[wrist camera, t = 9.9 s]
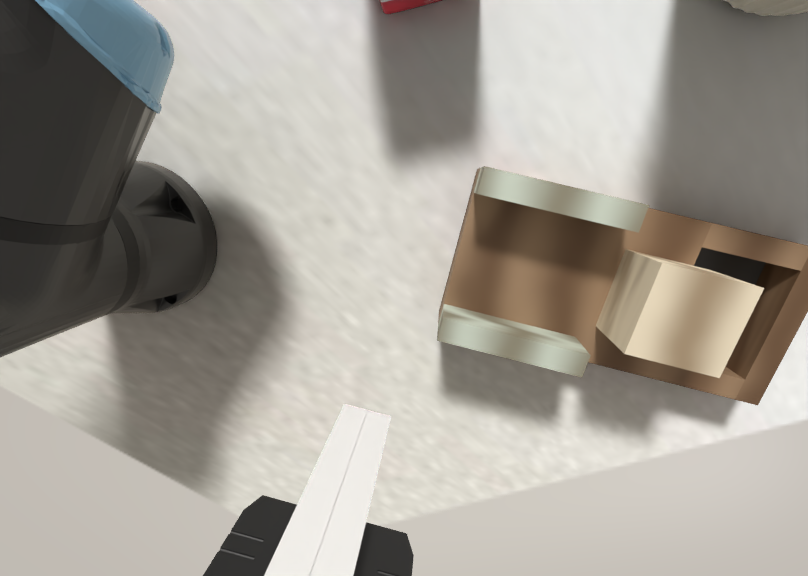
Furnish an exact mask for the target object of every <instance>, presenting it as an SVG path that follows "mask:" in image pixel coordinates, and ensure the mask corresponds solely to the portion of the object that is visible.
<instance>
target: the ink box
mask: <svg viewBox="0 0 808 576" xmlns="http://www.w3.org/2000/svg"><path fill="white" fill-rule="evenodd" d="M379 1H380V4H381V6H382V9H383V12H384V13H385V14H391V13H396V12H400V11H404V10H408V9H412V8H416V7H419V6H423V5H427V4H430V3H434V2H438V1H441V0H379Z"/></svg>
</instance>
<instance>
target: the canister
mask: <svg viewBox="0 0 808 576" xmlns="http://www.w3.org/2000/svg"><path fill="white" fill-rule="evenodd" d="M722 1H726V2H728V3H729V4H731V6H732V7H733V8H739V9H741V10H743V11H744V12H745V13H756V14H757V15H760V16H768V15H773V16H786V15H790V14H800V13H805V12H808V0H722Z"/></svg>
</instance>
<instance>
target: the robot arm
mask: <svg viewBox="0 0 808 576" xmlns="http://www.w3.org/2000/svg"><path fill="white" fill-rule="evenodd" d="M173 61H174V48H173V44H172V41H171V38H170V36H169V34H168V33H167V31H166V29H165V28H164V27H163V26H162V24H161V23H160V22H159V21H158V20H157V19H156V18H154V17H153V16H152V15H151V14H150V13H148V12H147V11H146V10H145V9H143V8H142V7H141V6H140V5H138V4H137V3H136V2H135V1H133V0H0V357H2V356H5V355H7V354H10V353H12V352H15V351H17V350H20V349H22V348H25V347H27V346H30V345H32V344H34V343H37V342H39V341H42V340H44V339H47V338H49V337H52V336H54V335H57V334H59V333H62V332H64V331H67V330H70V329H72V328H75V327H77V326H80V325H82V324H85V323H87V322H90V321H92V320H95V319H97V318H99V317H102V316H105V315H107V314H120V313H155V312H160V311H164V310H168V309H171V308H173V307H175V306H177V305H179V304H182V303H184V302H186V301H188V300H190V299H191V298H193V297H194V296H195V295H197V294H198V293H199V292H200V291H201V290H202V289H203V287H204V286H205V285H206V283H207V282H208V280H209V278H210V276H211V274H212V272H213V269H214V266H215V261H216V255H217V240H216V233H215V228H214V225H213V221H212V219H211V216H210V214H209V212H208V210H207V208H206V206H205V204H204V202H203V201H202V199H201V198H200V196H199V195H198V194H197V193H196V191H195V190H194V189H193V188H192V187H191V186H190V185H189V184H188V183H187V182H186V181H185V180H183V179H182V178H181V177H180V176H178V175H177V174H175V173H174V172H172V171H170V170H168V169H166V168H164V167H162V166H159V165H157V164H153V163H149V162H143V161H136V158H137V156H138V154H139V151H140V149H141V147H142V145H143V142H144V140H145V138H146V135H147V133H148V131H149V129H150V126H151V124H152V122H153V119H154V117H155V115H156V113H160V111H161V104H160V100H161V97H162V94H163V91H164V88H165V85H166V82H167V79H168V76H169V74H170V71H171V68H172V65H173ZM390 420H391V416H389V415H386V414H382V413H378V412H374V411H370V410H367V409H363V408H359V407H355V406H352V405H348V404H344V405H343V407H342V409H341V412H340V414H339V416H338V418H337V420H336V422H335V424H334V427H333V429H332V431H331V433H330V435H329V437H328V439H327V442H326V444H325V446H324V448H323V450H322V452H321V455H320V457H319V459H318V461H317V463H316V465H315V467H314V470H313V472H312V474H311V476H310V478H309V480H308V482H307V485H306V487H305V489H304V491H303V493H302V495H301V497H300V500H299V502H298V504H297V505H296V504H292V503H289V502H285V501H281V500H278V499H274V498H271V497H267V496H263V495H262V496H261V497H260V498H259V499H257V500H256V501H255V502H253V503H252V504H251V505H250V506H248V507H247V508H246V509H244V510H243V512H242V514H241V515H240V517H239V519H238V520H237V522H236V523H235V525H234V527H233V528H232V530H231V533H230V534H229V535H228V536H227V538H226V539H225V541H224V543H223V544H222V546H221V548H220V551H219V552H217V554H216V556H215V557H214V559H213V560H212V562H211V564H210V566H209V567H208V568H207V570H206V572H205V573H204V575H203V576H412V565H413V553H412V549H411V546H410V543H409V540H408V536H407V534H406V533H403V532H399V531H395V530H391V529H388V528H385V527H381V526H377V525H374V524H370V523H366V520H367V516H368V512H369V508H370V504H371V500H372V495H373V491H374V487H375V483H376V479H377V474H378V470H379V466H380V462H381V458H382V454H383V449H384V445H385V441H386V437H387V433H388V429H389V424H390Z"/></svg>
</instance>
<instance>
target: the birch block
mask: <svg viewBox="0 0 808 576" xmlns="http://www.w3.org/2000/svg"><path fill="white" fill-rule="evenodd" d="M763 290H764V288H762V287H759V286H756V285H754V284H751V283H748V282H745V281H742V280H739V279H736V278H733V277H730V276H727V275H724V274H721V273H718V272H715V271H712V270H709V269H705V268H701V267H696V266H692V265H688V264H684V263H680V262H676V261H672V260H668V259H664V258H660V257H656V256H652V255H648V254H643V253H639V252H635V251H631V250H627V249H625V252H624V255H623V257H622V260H621V262H620V265H619V267H618V270H617V273H616V275H615V278H614V280H613V283H612V285H611V288H610V291H609V293H608V296H607V298H606V301H605V303H604V306H603V309H602V311H601V314H600V316H599V319H598V321H597V324H596V327H597V328H598V329H599V330H600V331H601V332H602V333H603V334H604V335H605V336H607V337H608V338H609V339H610V340H611V341H612V342H613V343H614V344H615V345H616V346H617V347H618V348H619V349H620V350H621V351H622V352H623V353H624V354H627V355H631V356H635V357H638V358H642V359H646V360H650V361H654V362H658V363H662V364H666V365H670V366H674V367H678V368H681V369H685V370H689V371H693V372H697V373H701V374H705V375H709V376H713V377H717V378H720V376H721V374H722V372H723V370H724V368H725V366H726V364H727V362H728V360H729V358H730V356H731V354H732V352H733V350H734V348H735V346H736V344H737V342H738V340H739V338H740V336H741V334H742V332H743V330H744V328H745V326H746V324H747V322H748V320H749V318H750V316H751V314H752V312H753V310H754V308H755V306H756V304H757V302H758V300H759V298H760V296H761V294H762V292H763Z"/></svg>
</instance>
